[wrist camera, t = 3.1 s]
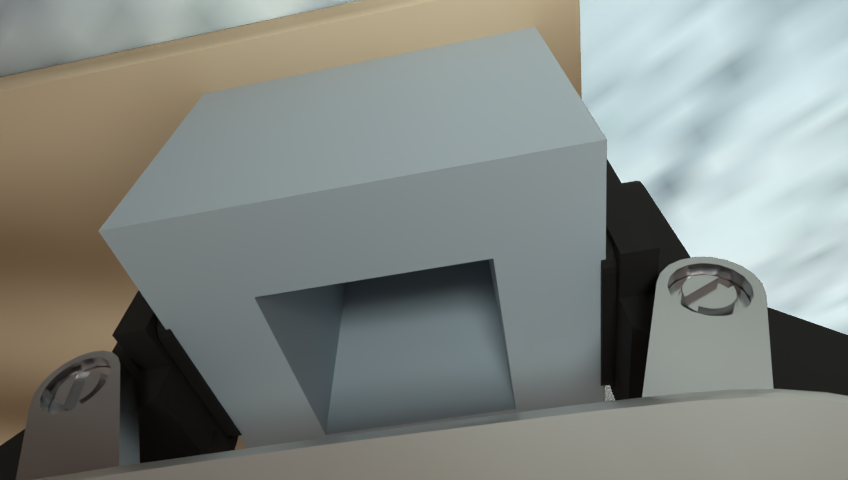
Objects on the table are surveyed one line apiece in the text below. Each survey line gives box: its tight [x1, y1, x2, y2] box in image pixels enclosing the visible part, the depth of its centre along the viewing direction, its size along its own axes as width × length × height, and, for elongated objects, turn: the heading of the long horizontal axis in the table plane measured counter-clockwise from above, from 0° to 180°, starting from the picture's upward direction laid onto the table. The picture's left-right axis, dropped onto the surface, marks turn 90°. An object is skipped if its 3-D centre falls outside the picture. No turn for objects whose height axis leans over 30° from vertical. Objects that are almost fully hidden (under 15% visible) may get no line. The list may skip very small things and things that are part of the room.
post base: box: [0, 0, 581, 450], centre depth 15 cm, size 19×24×6 cm
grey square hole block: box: [99, 27, 607, 448], centre depth 11 cm, size 9×6×4 cm
